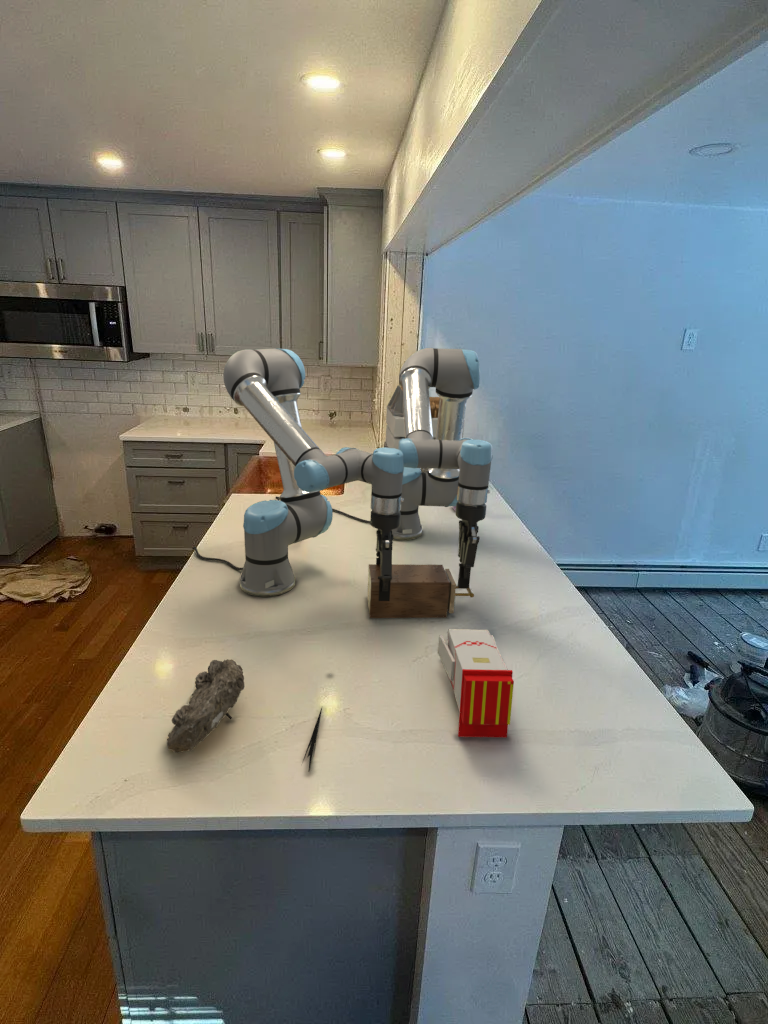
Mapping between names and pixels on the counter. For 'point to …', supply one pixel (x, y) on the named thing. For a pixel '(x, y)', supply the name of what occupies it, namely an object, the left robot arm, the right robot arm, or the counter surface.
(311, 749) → the feather
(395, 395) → the transformer
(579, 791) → the counter surface
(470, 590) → the drawer
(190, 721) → the fossil
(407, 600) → the cabinet
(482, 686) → the white and red box
